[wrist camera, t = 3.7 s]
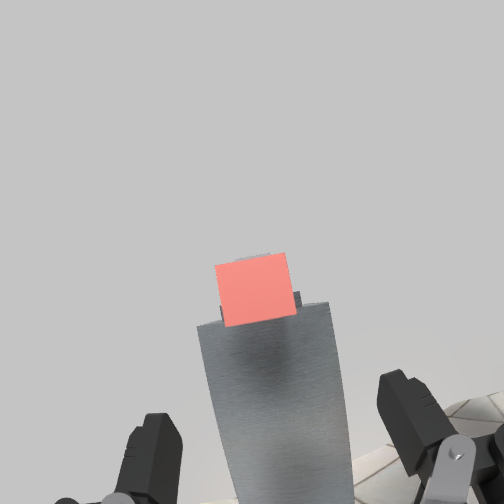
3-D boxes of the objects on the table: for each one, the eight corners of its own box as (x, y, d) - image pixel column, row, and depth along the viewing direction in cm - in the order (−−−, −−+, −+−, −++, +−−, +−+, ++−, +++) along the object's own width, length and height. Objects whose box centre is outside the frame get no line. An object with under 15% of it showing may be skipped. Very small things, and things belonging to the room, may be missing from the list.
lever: (278, 309, 40) (269, 262, 41) (296, 313, 16) (274, 202, 17) (248, 314, 40) (240, 267, 41) (225, 327, 16) (207, 215, 17)
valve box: (337, 498, 32) (306, 292, 38) (355, 543, 20) (325, 285, 26) (260, 512, 32) (215, 309, 38) (258, 561, 20) (193, 310, 26)
